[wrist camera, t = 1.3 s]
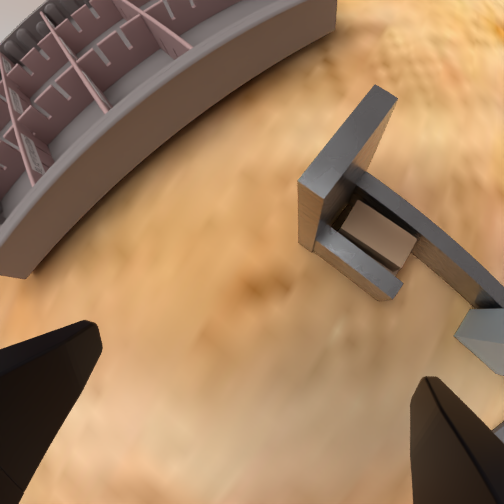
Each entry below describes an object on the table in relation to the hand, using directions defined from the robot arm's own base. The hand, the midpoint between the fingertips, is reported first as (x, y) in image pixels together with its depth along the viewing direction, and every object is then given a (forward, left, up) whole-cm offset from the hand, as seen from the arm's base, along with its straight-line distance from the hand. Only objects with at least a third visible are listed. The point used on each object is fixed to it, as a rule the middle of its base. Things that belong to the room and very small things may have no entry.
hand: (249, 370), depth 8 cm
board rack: (+4, -11, -15) cm, 19 cm away
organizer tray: (+23, +23, -16) cm, 36 cm away
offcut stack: (+7, -5, -15) cm, 18 cm away
